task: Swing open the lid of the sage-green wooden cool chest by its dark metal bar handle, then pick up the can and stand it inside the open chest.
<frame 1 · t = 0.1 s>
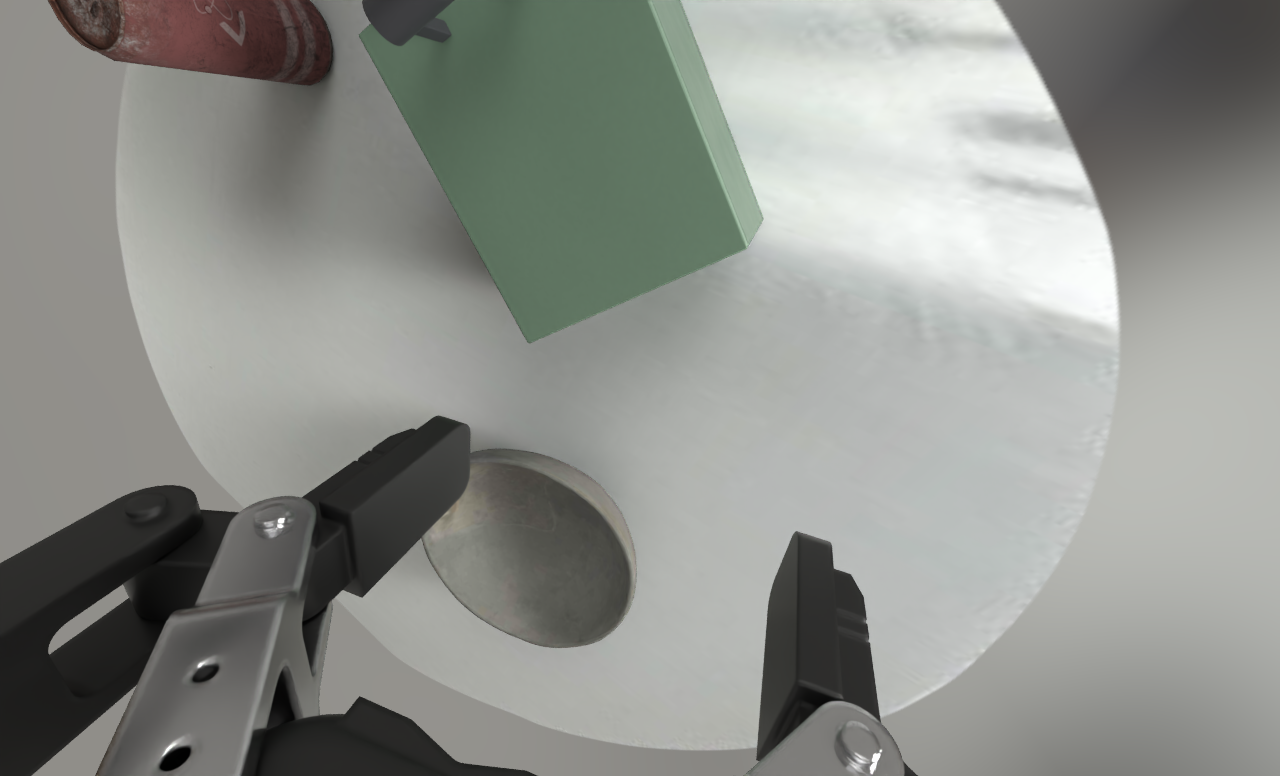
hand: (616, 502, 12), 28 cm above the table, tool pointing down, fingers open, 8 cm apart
can: (303, 40, 39), on the table
bowl: (557, 505, 52), on the table
lid: (530, 138, 24), point 14 cm above the table, hinge at 0.0°
chest: (624, 147, 36), on the table
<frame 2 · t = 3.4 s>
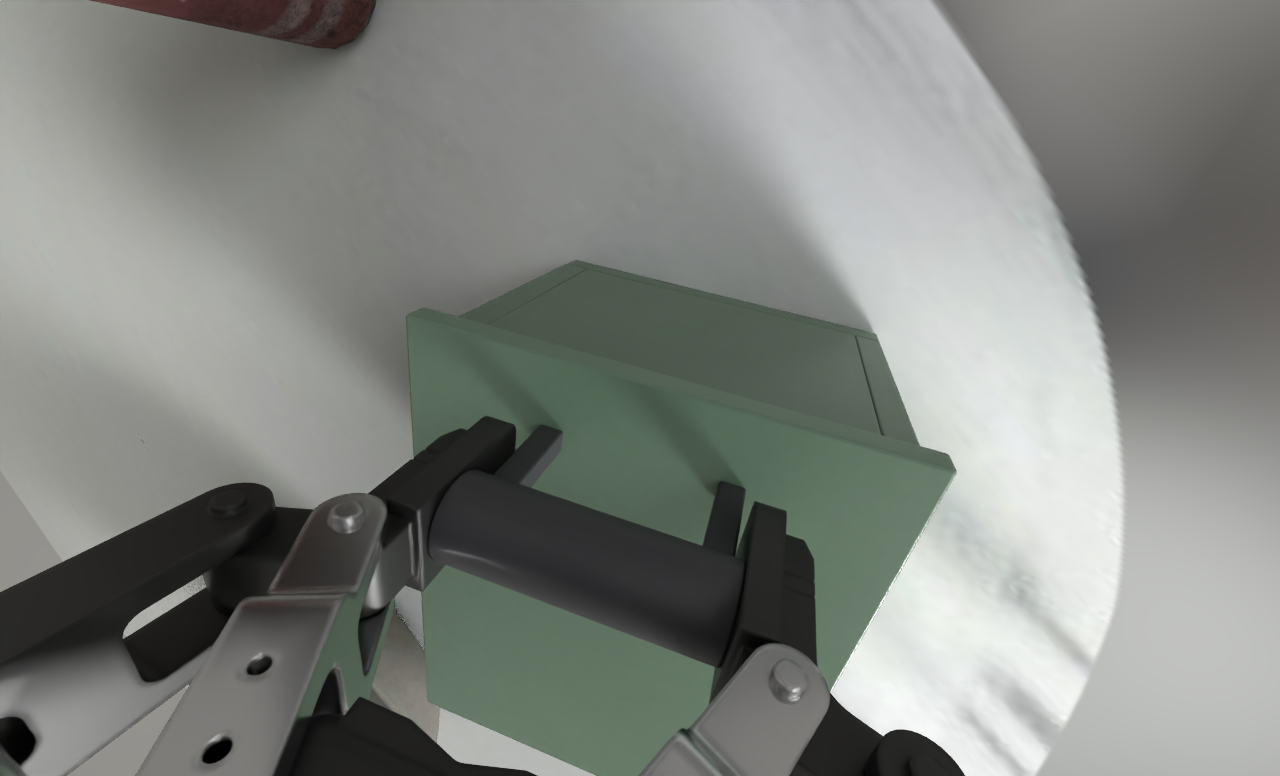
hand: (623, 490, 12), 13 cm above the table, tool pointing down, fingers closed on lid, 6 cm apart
bowl: (373, 622, 43), on the table
lid: (583, 678, 15), point 14 cm above the table, hinge at 0.0°, touching gripper
chest: (680, 447, 27), on the table
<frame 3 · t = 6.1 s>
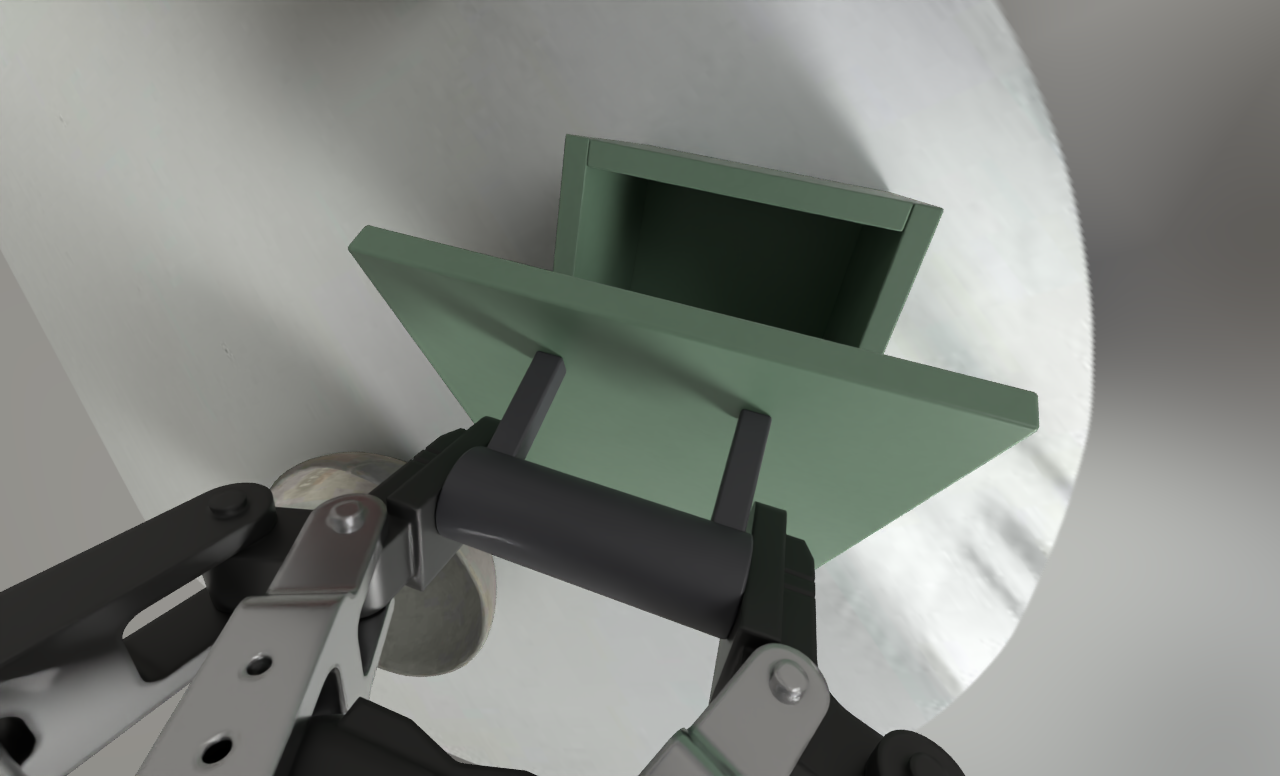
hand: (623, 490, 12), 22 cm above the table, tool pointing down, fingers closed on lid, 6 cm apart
bowl: (430, 519, 47), on the table
lid: (633, 531, 17), point 19 cm above the table, hinge at 35.8°, touching gripper
chest: (724, 312, 32), on the table
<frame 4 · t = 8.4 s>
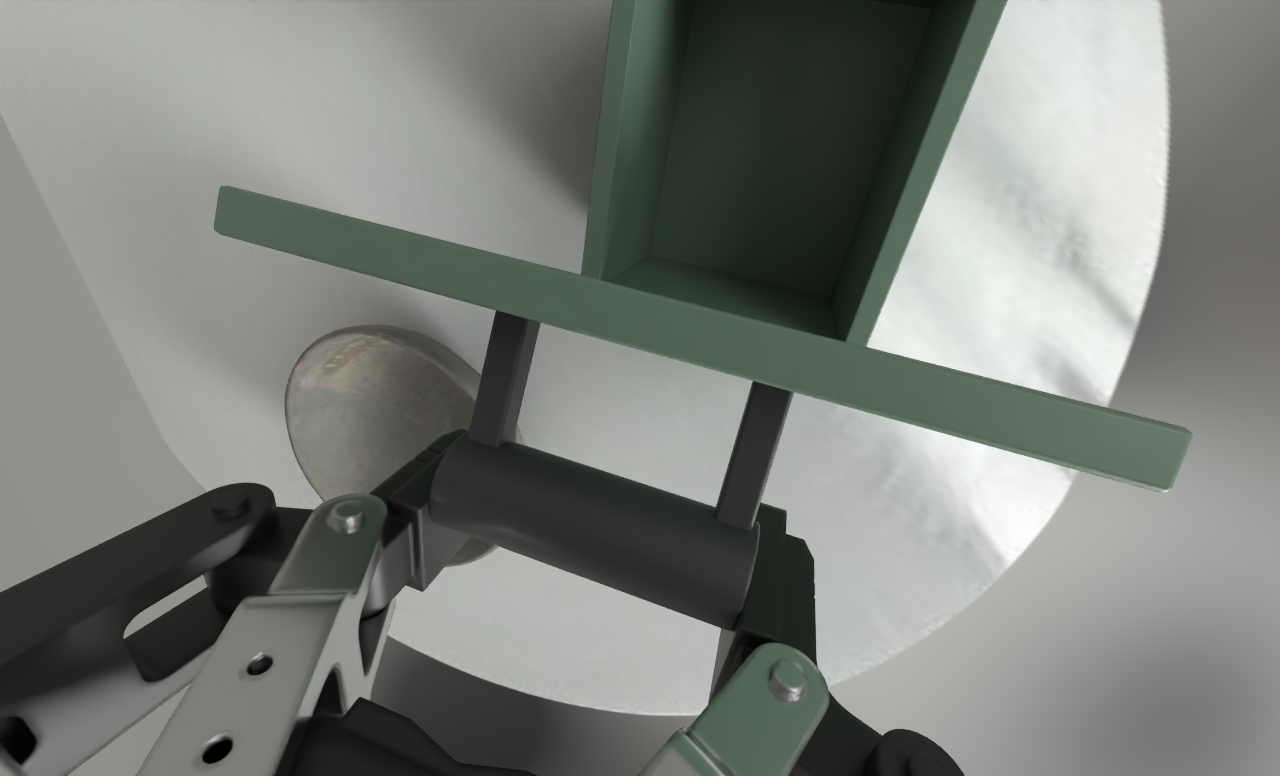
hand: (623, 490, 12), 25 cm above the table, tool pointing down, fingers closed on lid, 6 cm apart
bowl: (455, 415, 47), on the table
lid: (667, 405, 16), point 21 cm above the table, hinge at 69.4°, touching gripper
chest: (770, 150, 30), on the table
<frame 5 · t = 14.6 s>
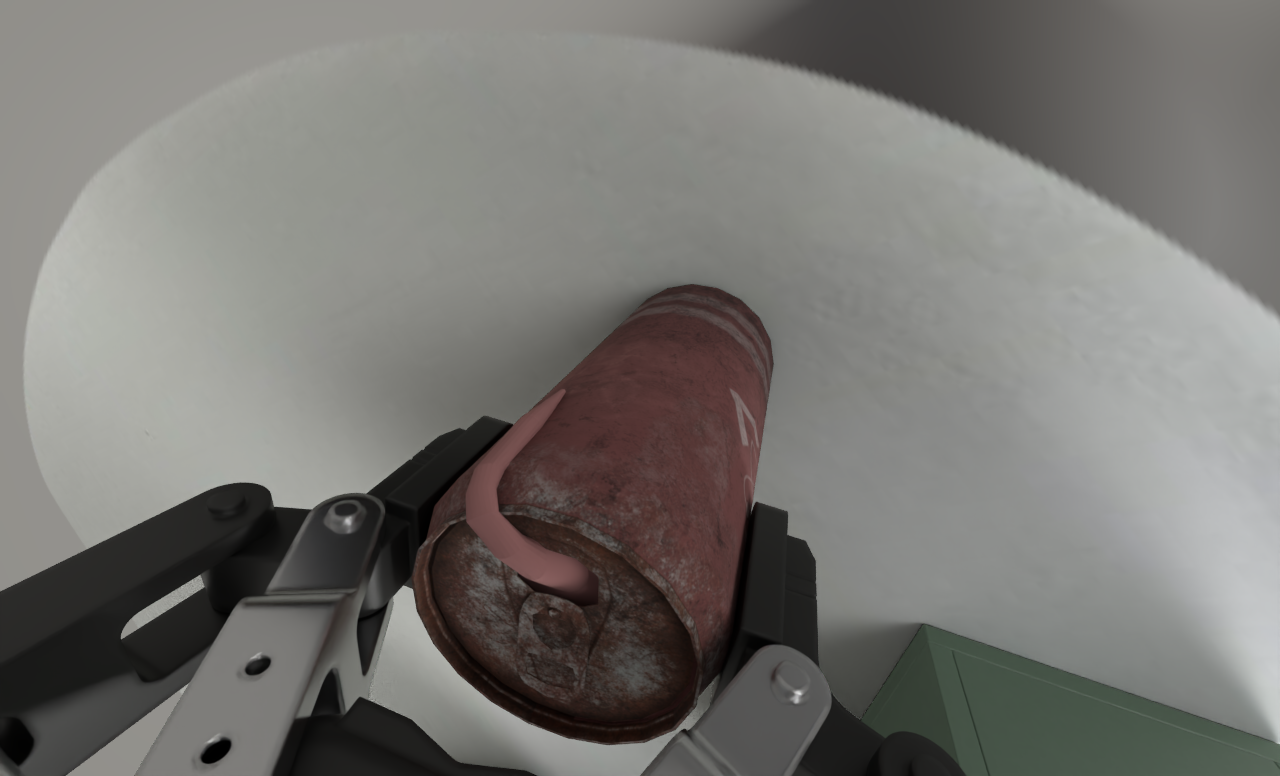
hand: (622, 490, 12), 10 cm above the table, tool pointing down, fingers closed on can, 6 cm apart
can: (696, 350, 21), on the table, touching gripper
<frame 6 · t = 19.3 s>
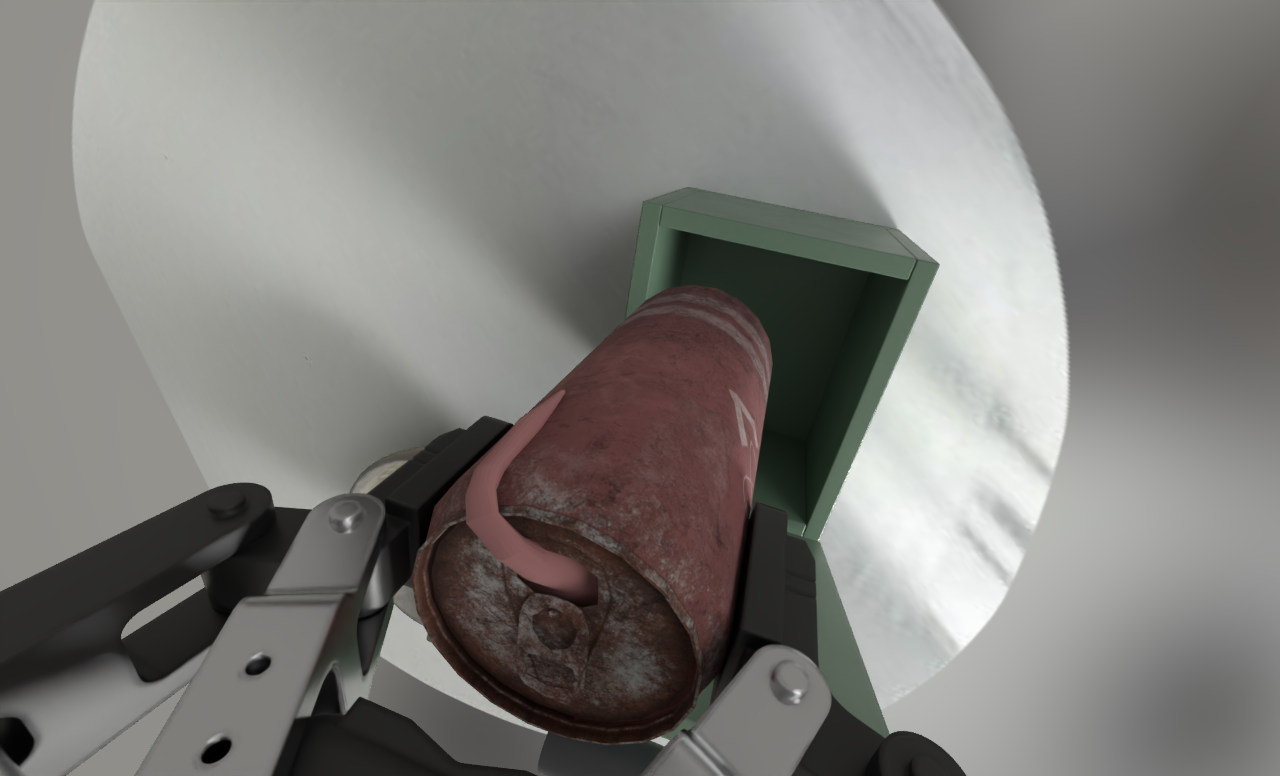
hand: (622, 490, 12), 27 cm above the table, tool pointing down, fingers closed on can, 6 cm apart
can: (695, 350, 21), point 17 cm above the table, touching gripper
bowl: (486, 506, 53), on the table
lid: (674, 621, 23), point 21 cm above the table, hinge at 69.8°
chest: (755, 327, 37), on the table
when the fingers open (11 cm above the table, at t = 24.3 s): can stays where it is, resting on chest.
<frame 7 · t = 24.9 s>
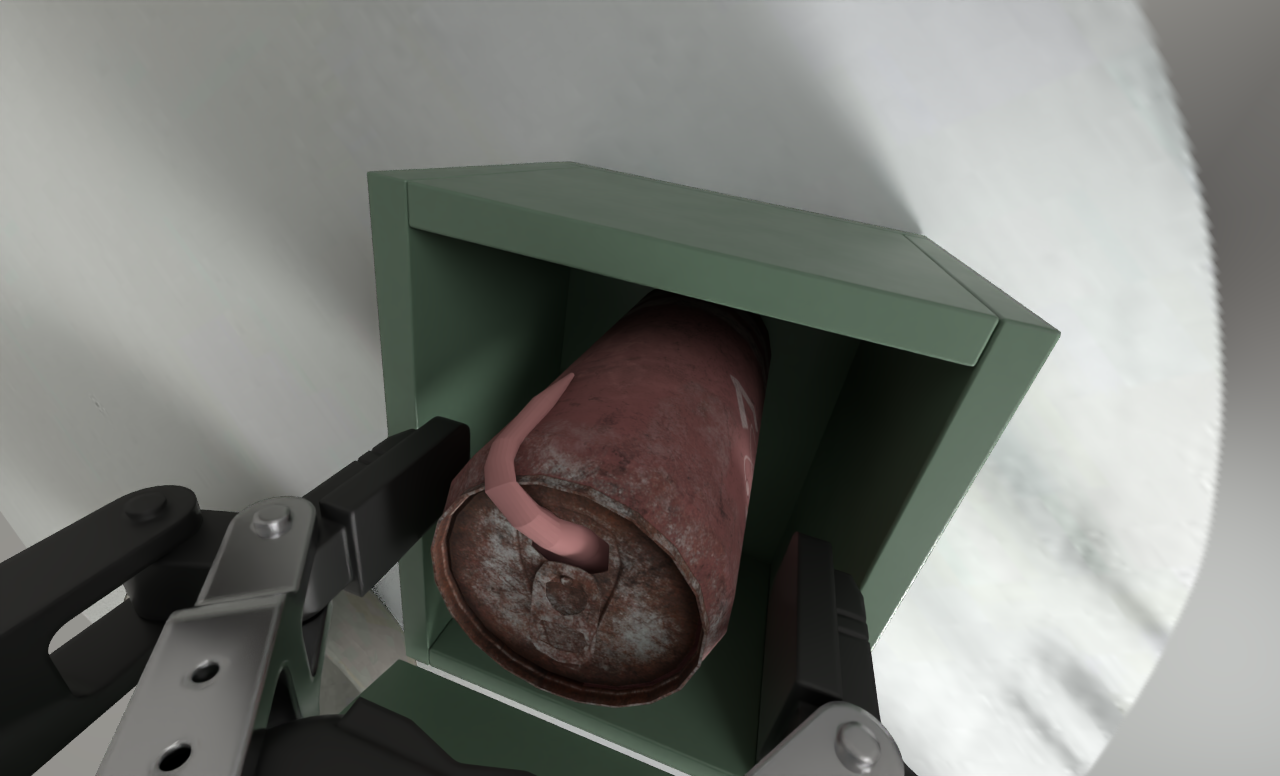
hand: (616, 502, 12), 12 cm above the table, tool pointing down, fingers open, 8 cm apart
can: (696, 342, 21), point 1 cm above the table, touching chest
bowl: (350, 603, 39), on the table
chest: (689, 389, 23), on the table
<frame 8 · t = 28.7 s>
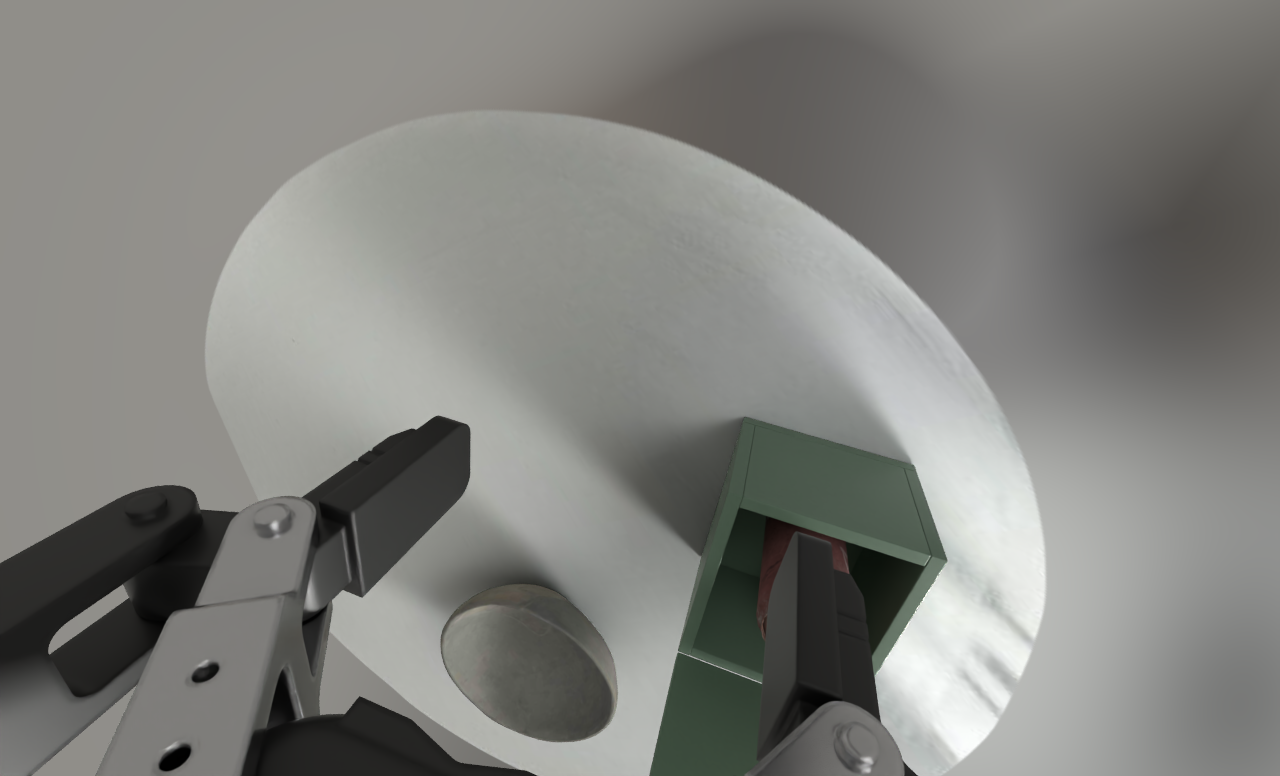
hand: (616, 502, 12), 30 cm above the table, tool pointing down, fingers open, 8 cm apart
can: (803, 499, 44), point 1 cm above the table, touching chest
bowl: (553, 619, 62), on the table
chest: (795, 516, 46), on the table
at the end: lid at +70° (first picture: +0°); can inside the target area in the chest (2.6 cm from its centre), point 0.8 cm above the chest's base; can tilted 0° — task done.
